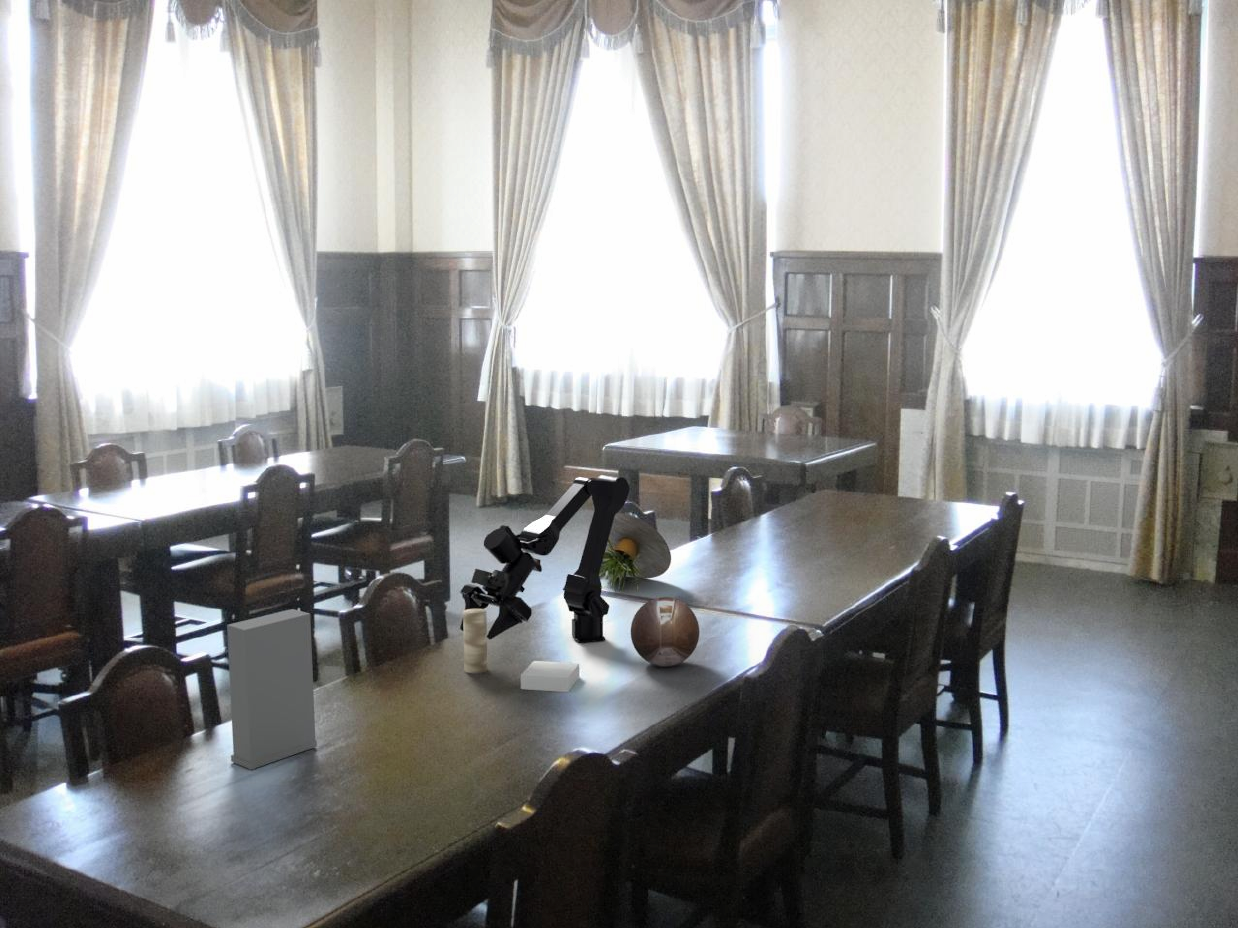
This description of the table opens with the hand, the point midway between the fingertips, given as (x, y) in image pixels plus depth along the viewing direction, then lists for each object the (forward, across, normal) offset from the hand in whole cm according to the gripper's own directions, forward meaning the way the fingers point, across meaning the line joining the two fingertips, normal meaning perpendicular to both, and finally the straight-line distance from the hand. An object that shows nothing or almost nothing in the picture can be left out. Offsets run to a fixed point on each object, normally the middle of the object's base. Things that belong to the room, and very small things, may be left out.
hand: (474, 634), depth 268 cm
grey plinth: (+2, +18, +9) cm, 21 cm away
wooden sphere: (-16, +27, +28) cm, 42 cm away
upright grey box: (+46, +13, -33) cm, 58 cm away
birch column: (+6, 0, +6) cm, 8 cm away
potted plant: (-49, -31, +60) cm, 83 cm away
